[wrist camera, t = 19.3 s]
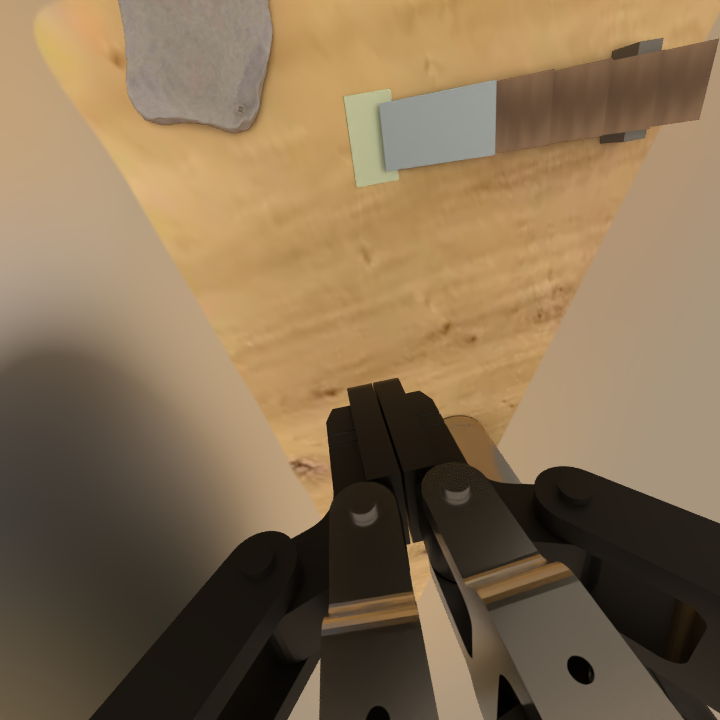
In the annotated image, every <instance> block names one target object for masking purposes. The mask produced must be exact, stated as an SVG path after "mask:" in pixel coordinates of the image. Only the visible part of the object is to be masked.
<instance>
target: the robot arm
mask: <svg viewBox="0 0 720 720" xmlns="http://www.w3.org/2000/svg"><path fill="white" fill-rule="evenodd" d="M373 388H374V389H373ZM347 391H348V396H349V401H350V406H346V407H341V408H336V409H332V411H331V413H330V415H329V417H328V420H327V422H326V425H327V434H328V444H329V453H330V463H331V472H332V482H333V491H334V497H333V501H332V503H331V506H330V509H329V511H328V512H327V514H326V515H325V517H324V518H323V519H322V520H321V521H320V522H318V523H317V524H316V525H315V526H313V527H312V528H310V529H308V530H306V531H305V532H303V533H301V534H300V535H297V536H296V537H294V538H292V539H290V537H289V536H287V535H285V534H284V533H281V532H277V531H266V532H261V533H258V534H255V535H253V536H251V537H249V538H248V539H246V540H245V541H244V542H242V543H241V544H240V545H238V547H236V549H235V550H234V551H233V552H232V553H231V554H230V555H229V557H228V558H227V559H226V560H225V561H224V562H223V564H222V565H221V566H220V567H219V568H218V570H217V571H216V572H215V573H214V574H213V575H212V576H211V578H210V579H209V580H208V581H207V582H206V583H205V585H204V586H203V587H202V588H201V589H200V590H199V592H198V593H197V594H196V595H195V596H194V597H193V599H192V600H191V601H190V602H189V603H188V604H187V606H186V607H185V608H184V609H183V610H182V611H181V613H180V614H179V615H178V616H177V617H176V619H175V620H174V621H173V622H172V623H171V624H170V625H169V627H168V628H167V629H166V630H165V631H164V632H163V634H162V635H161V636H160V637H159V638H158V639H157V641H156V642H155V643H154V644H153V645H152V646H151V648H150V649H149V650H148V651H147V652H146V654H145V655H144V656H143V657H142V658H141V659H140V661H139V662H138V663H137V664H136V665H135V666H134V668H133V669H132V670H131V671H130V672H129V673H128V675H127V676H126V677H125V678H124V679H123V680H122V682H121V683H120V684H119V685H118V686H117V688H116V689H115V690H114V691H113V692H112V693H111V695H110V696H109V697H108V698H107V699H106V700H105V701H104V703H103V704H102V705H101V706H100V707H99V708H98V710H97V711H96V712H95V713H94V714H93V715H92V717H91V718H90V719H89V720H287V719H288V717H289V715H290V714H291V712H292V710H293V708H294V706H295V704H296V702H297V701H298V699H299V697H300V695H301V693H302V691H303V689H304V687H305V685H306V684H307V682H308V680H309V678H310V676H311V674H312V672H313V671H314V669H315V667H316V665H317V663H318V661H319V659H321V660H320V710H319V720H439V718H438V712H437V707H436V702H435V696H434V691H433V686H432V681H431V676H430V670H429V665H428V660H427V655H426V650H425V644H424V639H423V634H422V629H421V623H420V619H419V614H418V608H417V604H416V601H415V597H414V592H413V586H412V581H411V576H410V566H409V559H408V553H407V546H406V545H407V544H410V537H409V530H410V534H411V537H412V541H413V543H415V542H419V541H424V544H425V547H426V550H427V553H428V557H429V565H430V572H431V575H432V578H433V580H434V583H435V585H436V588H437V590H438V592H439V595H440V598H441V600H442V603H443V605H444V608H445V610H446V613H447V615H448V618H449V620H450V623H451V625H452V628H453V630H454V633H455V635H456V638H457V640H458V643H459V645H460V648H461V650H462V653H463V655H464V657H465V660H466V663H467V666H468V668H469V672H470V675H471V679H472V683H473V687H474V690H475V694H476V697H477V700H478V704H479V707H480V710H481V713H482V715H483V718H484V720H717V719H716V717H715V716H714V714H713V713H712V712H711V710H710V709H709V708H708V706H709V707H711V708H713V709H714V710H716V711H717V712H719V713H720V523H717V522H715V521H712V520H709V519H707V518H705V517H702V516H699V515H697V514H694V513H692V512H689V511H687V510H684V509H682V508H679V507H677V506H674V505H671V504H669V503H666V502H664V501H661V500H659V499H656V498H654V497H651V496H648V495H646V494H644V493H641V492H639V491H636V490H633V489H631V488H628V487H626V486H623V485H621V484H618V483H615V482H613V481H611V480H608V479H605V478H603V477H600V476H598V475H595V474H593V473H590V472H587V471H585V470H582V469H579V468H574V467H567V466H559V467H553V468H549V469H547V470H545V471H543V472H541V473H540V474H539V475H538V477H537V478H536V480H535V484H534V485H533V484H522V483H521V482H520V481H519V479H518V478H517V476H516V475H515V473H514V472H513V470H512V469H511V467H510V466H509V464H508V463H507V462H506V461H505V459H504V457H503V456H502V454H501V453H500V451H499V450H498V448H497V447H496V445H495V444H494V442H493V441H492V440H491V438H490V437H489V435H488V434H487V432H486V431H485V429H484V428H483V426H482V425H481V424H480V423H479V422H478V421H477V420H475V419H473V418H470V417H466V416H456V417H450V418H447V419H444V420H443V418H442V416H441V414H439V411H438V409H437V407H436V405H435V403H434V402H433V400H432V399H431V398H429V397H428V396H427V395H425V394H424V393H422V392H421V391H416V392H411V393H406V394H405V392H404V389H403V387H402V385H401V383H400V381H399V379H398V378H394V379H389V380H384V381H379V382H375V383H373V386H372V384H371V383H370V384H366V385H361V386H356V387H351V388H347ZM408 527H409V529H408ZM707 705H708V706H707Z"/></svg>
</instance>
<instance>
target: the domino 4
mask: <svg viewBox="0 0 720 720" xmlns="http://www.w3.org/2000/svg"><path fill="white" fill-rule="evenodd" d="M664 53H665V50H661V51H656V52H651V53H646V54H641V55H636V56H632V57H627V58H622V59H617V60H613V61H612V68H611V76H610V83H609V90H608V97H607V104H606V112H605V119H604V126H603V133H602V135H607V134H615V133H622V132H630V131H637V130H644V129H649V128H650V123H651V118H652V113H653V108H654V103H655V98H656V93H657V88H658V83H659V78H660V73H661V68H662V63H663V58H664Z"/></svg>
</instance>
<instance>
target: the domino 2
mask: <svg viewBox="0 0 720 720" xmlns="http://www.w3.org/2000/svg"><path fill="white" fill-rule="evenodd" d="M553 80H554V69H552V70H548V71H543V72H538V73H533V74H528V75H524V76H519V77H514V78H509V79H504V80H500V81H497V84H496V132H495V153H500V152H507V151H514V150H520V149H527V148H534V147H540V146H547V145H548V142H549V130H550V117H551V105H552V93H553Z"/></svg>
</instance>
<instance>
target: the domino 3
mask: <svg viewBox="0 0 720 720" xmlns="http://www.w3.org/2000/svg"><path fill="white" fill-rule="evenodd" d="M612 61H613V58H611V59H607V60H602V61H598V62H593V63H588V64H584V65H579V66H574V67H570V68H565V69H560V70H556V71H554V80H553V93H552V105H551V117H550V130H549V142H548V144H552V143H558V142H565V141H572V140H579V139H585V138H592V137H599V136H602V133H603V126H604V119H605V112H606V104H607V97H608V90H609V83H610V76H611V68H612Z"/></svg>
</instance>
